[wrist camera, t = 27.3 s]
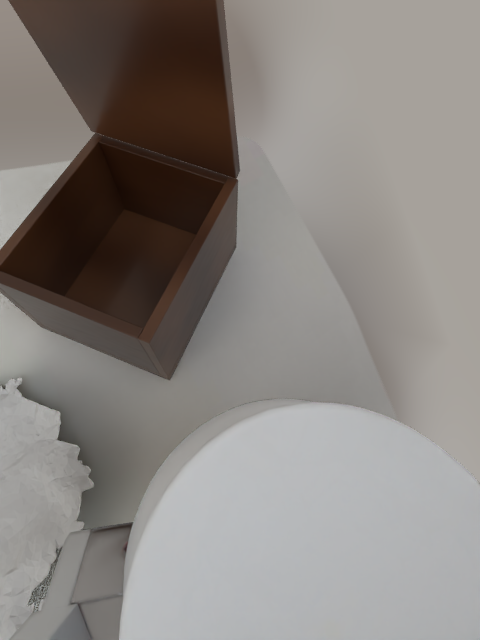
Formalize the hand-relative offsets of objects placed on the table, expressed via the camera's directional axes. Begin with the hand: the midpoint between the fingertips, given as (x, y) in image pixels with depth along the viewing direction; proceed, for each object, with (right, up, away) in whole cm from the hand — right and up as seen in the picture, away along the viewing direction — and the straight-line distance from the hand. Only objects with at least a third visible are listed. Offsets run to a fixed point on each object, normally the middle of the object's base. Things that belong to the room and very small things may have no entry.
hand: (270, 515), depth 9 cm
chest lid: (-7, +19, +13) cm, 24 cm away
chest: (-10, +8, +26) cm, 29 cm away
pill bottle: (0, -3, +5) cm, 6 cm away
